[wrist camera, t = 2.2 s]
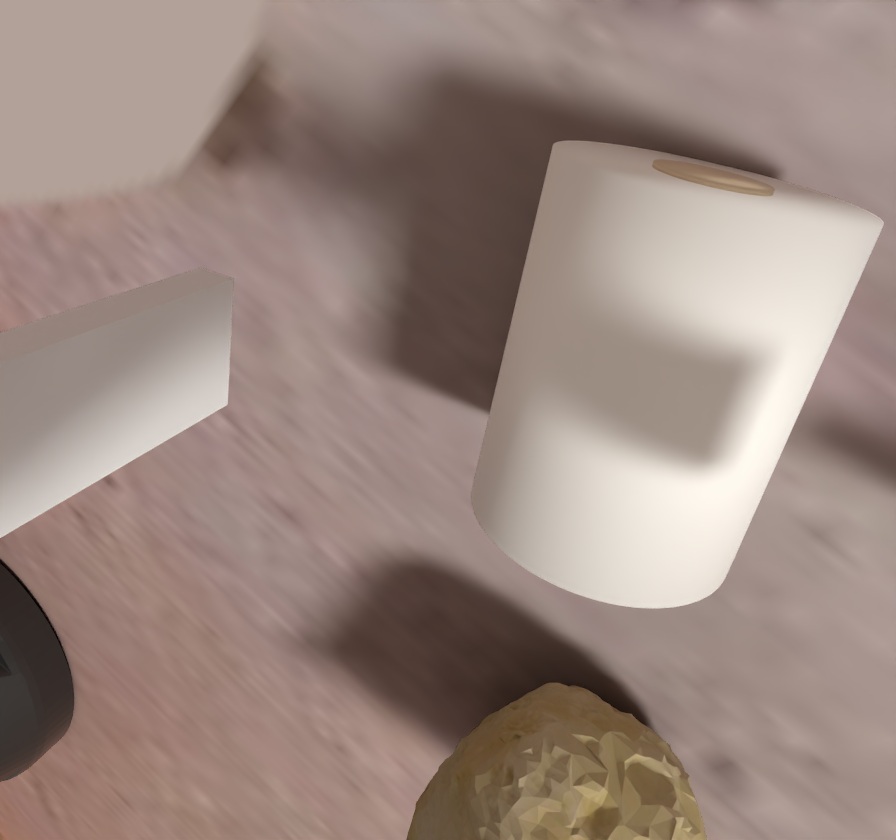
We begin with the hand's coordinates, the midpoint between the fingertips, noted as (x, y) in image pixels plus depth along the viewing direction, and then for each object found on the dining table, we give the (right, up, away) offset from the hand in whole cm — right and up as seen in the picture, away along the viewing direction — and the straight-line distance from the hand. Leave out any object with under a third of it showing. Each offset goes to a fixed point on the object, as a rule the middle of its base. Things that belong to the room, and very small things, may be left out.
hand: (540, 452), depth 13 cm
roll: (+3, +2, +5) cm, 6 cm away
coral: (+4, -11, +15) cm, 19 cm away
